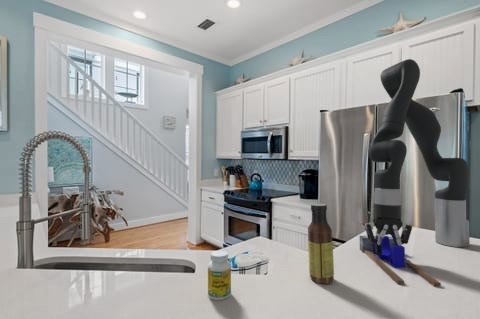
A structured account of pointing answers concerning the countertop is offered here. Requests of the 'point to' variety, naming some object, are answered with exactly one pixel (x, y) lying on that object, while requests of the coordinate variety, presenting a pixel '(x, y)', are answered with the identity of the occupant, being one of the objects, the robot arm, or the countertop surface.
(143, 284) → the countertop surface
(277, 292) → the countertop surface
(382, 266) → the guide channel
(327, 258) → the sauce bottle
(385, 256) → the cable clip
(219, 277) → the supplement bottle
